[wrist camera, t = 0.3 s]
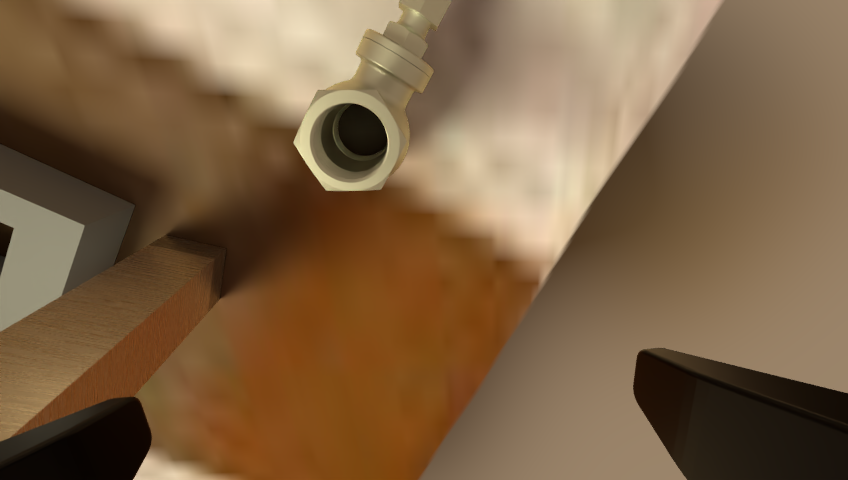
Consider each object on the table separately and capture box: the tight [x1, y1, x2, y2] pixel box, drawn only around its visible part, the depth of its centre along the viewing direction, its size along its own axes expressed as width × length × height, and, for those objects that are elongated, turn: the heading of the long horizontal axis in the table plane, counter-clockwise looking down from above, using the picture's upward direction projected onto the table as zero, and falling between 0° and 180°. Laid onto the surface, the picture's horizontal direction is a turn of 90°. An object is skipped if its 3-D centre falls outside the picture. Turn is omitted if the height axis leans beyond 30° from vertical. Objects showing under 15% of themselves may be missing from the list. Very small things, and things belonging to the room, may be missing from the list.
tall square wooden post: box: [0, 235, 226, 441], centre depth 15 cm, size 3×3×13 cm
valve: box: [293, 0, 452, 191], centre depth 16 cm, size 7×7×12 cm
